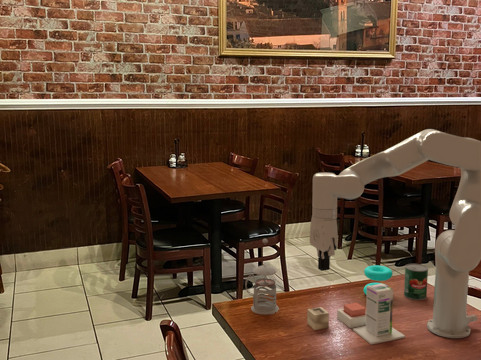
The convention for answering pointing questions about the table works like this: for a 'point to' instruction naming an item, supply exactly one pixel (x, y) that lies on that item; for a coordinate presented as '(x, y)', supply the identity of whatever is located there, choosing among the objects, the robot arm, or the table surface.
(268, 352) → the table surface
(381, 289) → the syrup box
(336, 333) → the table surface
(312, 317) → the letter cube
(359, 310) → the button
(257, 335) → the table surface
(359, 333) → the grey pad
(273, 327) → the table surface
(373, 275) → the donuts
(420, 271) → the canned tomato
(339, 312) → the button housing
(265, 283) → the french press
